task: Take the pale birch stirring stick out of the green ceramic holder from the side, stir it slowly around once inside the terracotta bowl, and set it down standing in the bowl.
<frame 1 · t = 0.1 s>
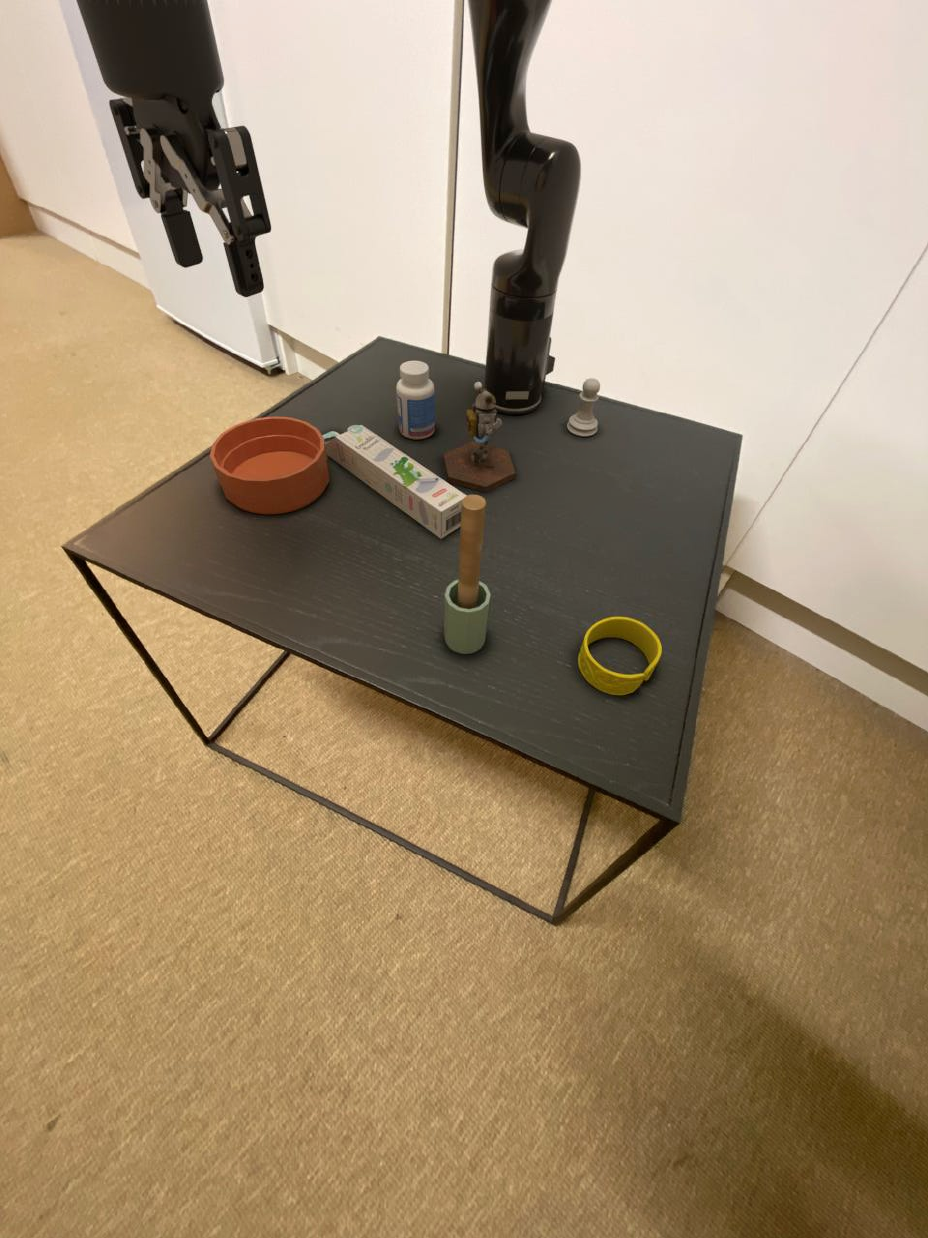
hand: (219, 278, 47), 29 cm above the table, tool pointing down, fingers open, 8 cm apart
chess piece: (581, 429, 88), on the table
robot figurine: (478, 470, 80), on the table
stick: (465, 634, 61), resting on holder
pill bottle: (416, 431, 86), on the table
holder: (465, 637, 61), on the table
box: (382, 481, 78), on the table
bracelet: (614, 665, 60), on the table
bowl: (277, 481, 76), on the table
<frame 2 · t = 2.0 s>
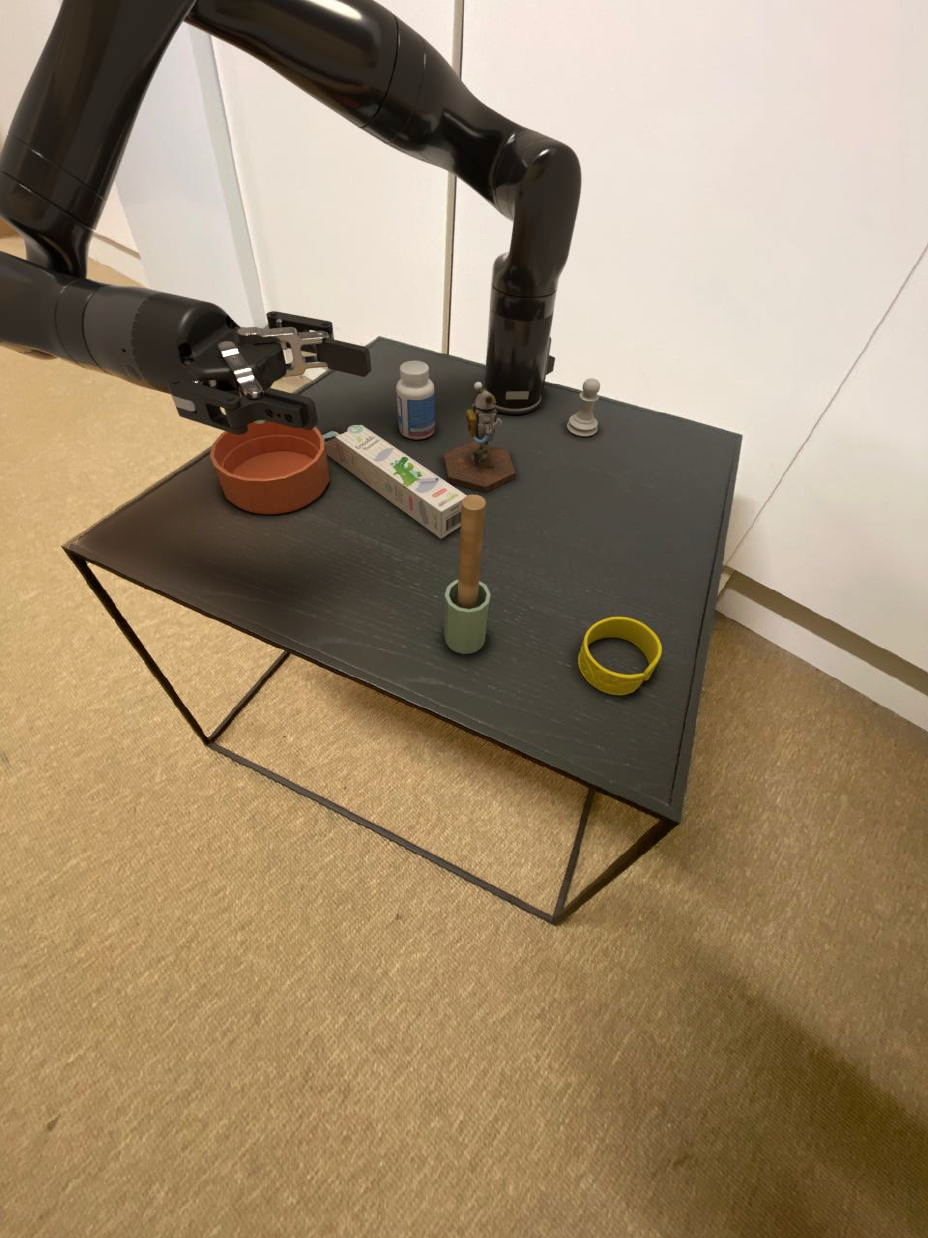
hand: (343, 387, 43), 26 cm above the table, tool horizontal, fingers open, 8 cm apart
nothing on the table moved.
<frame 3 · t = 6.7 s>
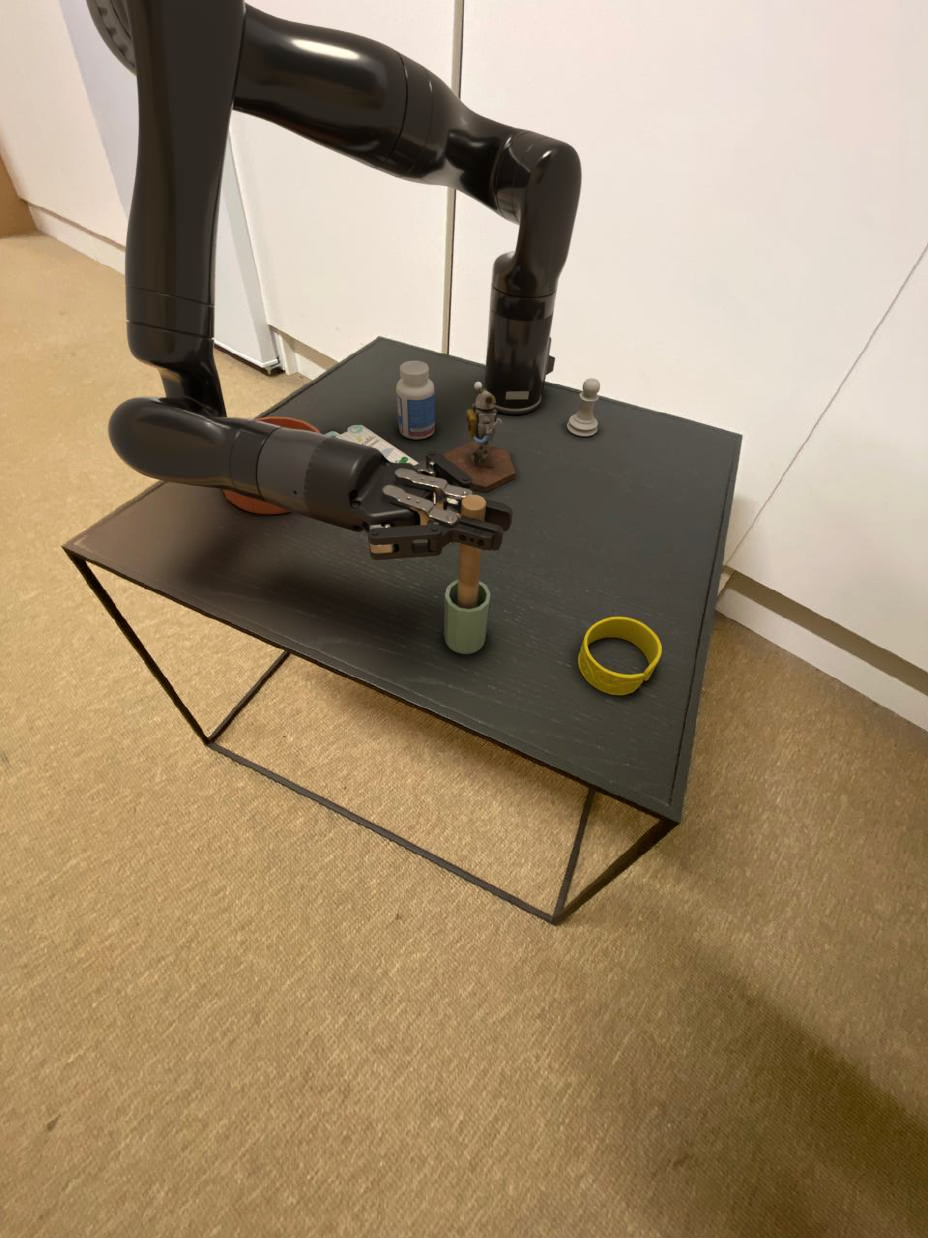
hand: (505, 529, 48), 16 cm above the table, tool horizontal, fingers closed on stick, 2 cm apart
stick: (465, 634, 61), point 1 cm above the table, touching gripper, holder
everything else where it was.
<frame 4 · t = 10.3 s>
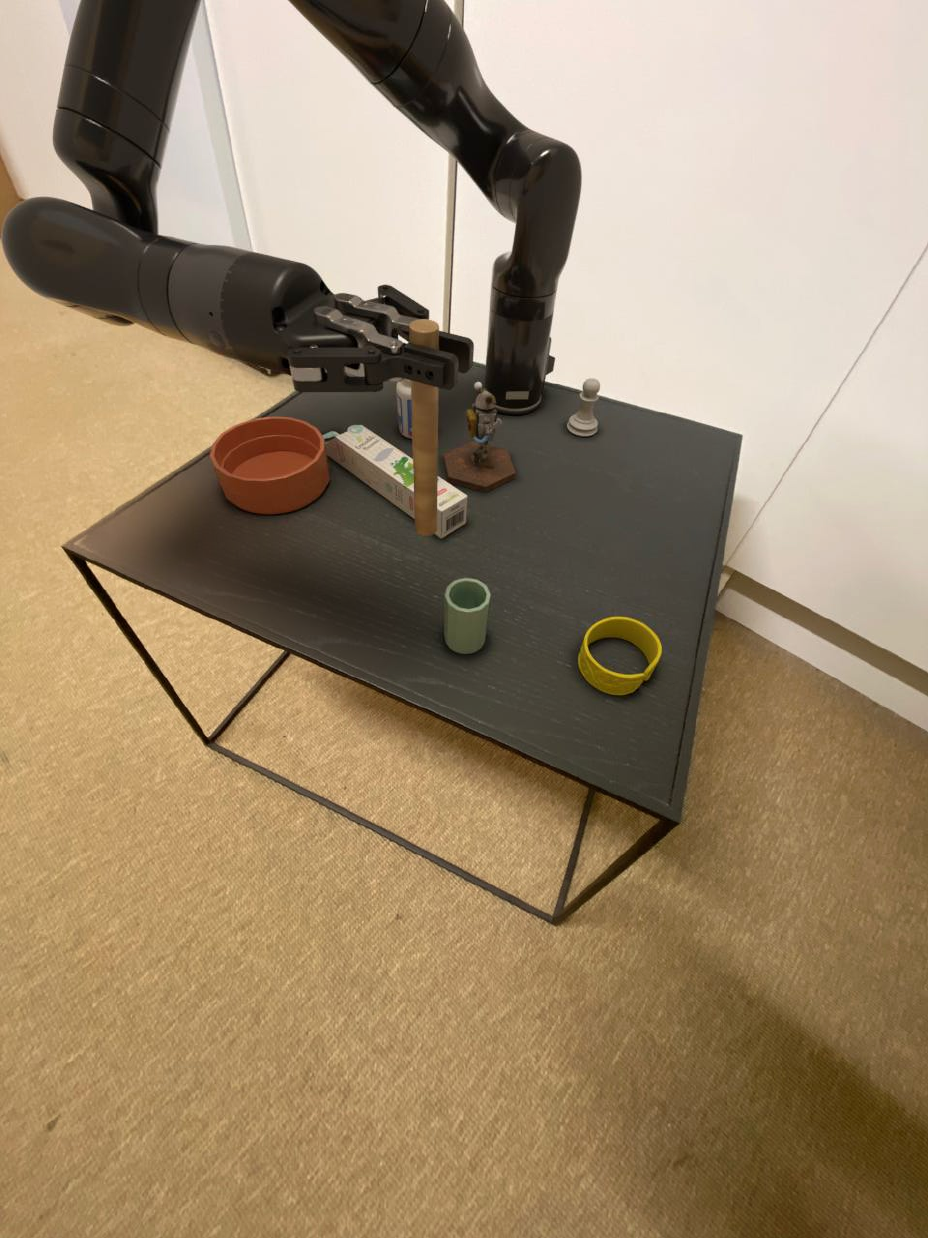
hand: (463, 364, 39), 30 cm above the table, tool horizontal, fingers closed on stick
stick: (426, 529, 52), point 14 cm above the table, touching gripper
everything else where it was.
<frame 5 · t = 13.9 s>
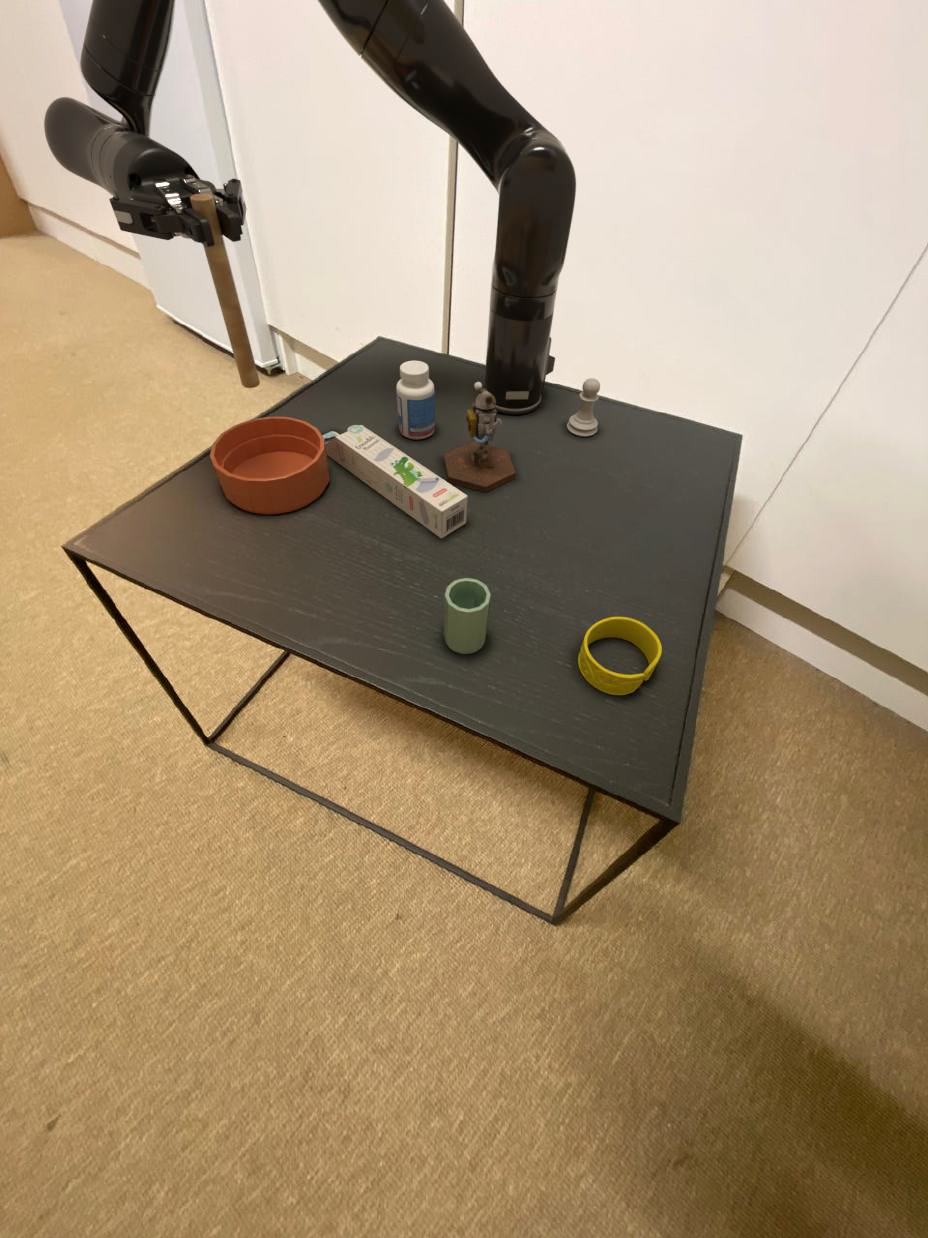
hand: (222, 231, 52), 30 cm above the table, tool horizontal, fingers closed on stick
stick: (251, 383, 66), point 14 cm above the table, touching gripper
everything else where it was.
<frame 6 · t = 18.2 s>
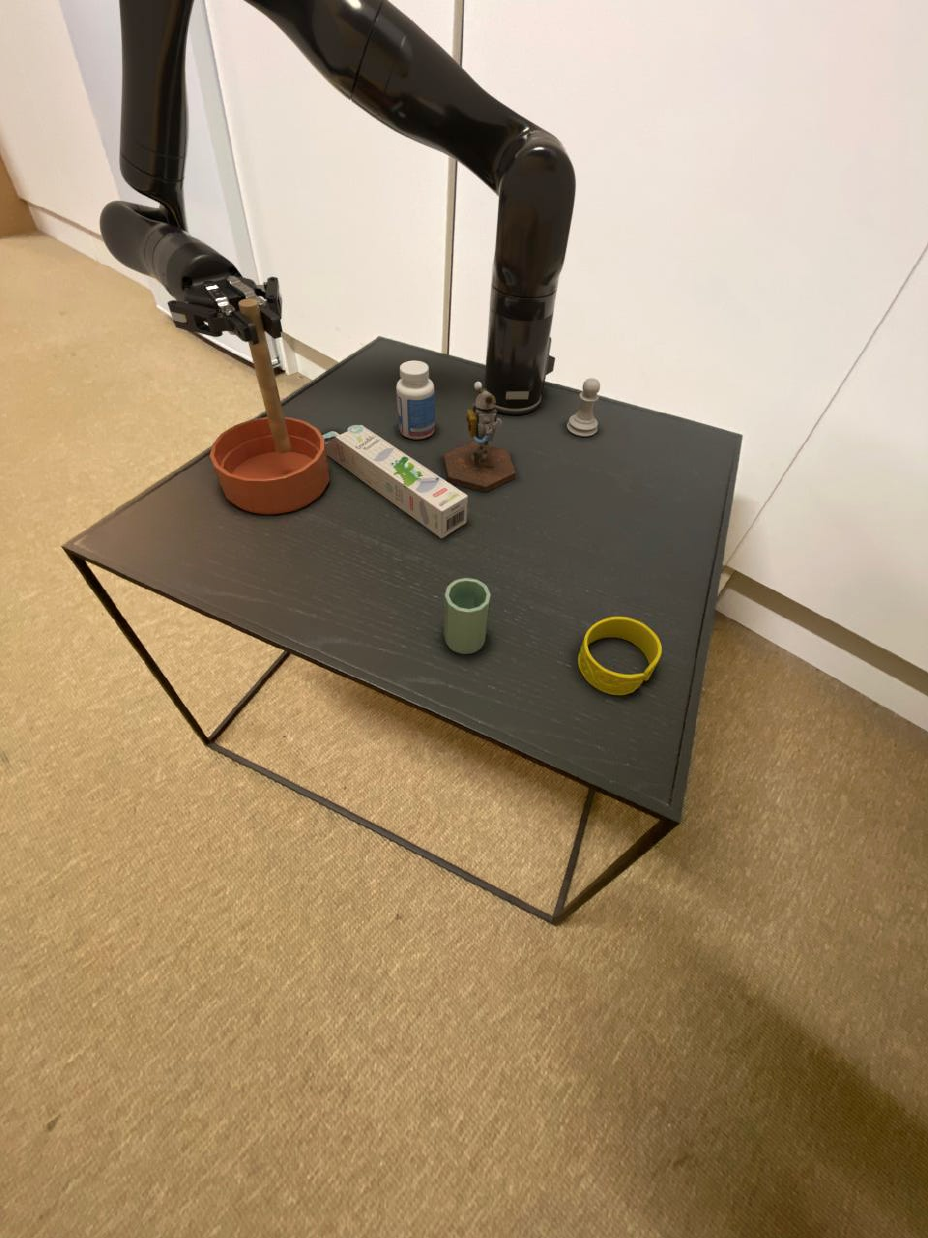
hand: (265, 331, 60), 20 cm above the table, tool horizontal, fingers closed on stick
stick: (283, 449, 74), point 4 cm above the table, touching gripper
everything else where it was.
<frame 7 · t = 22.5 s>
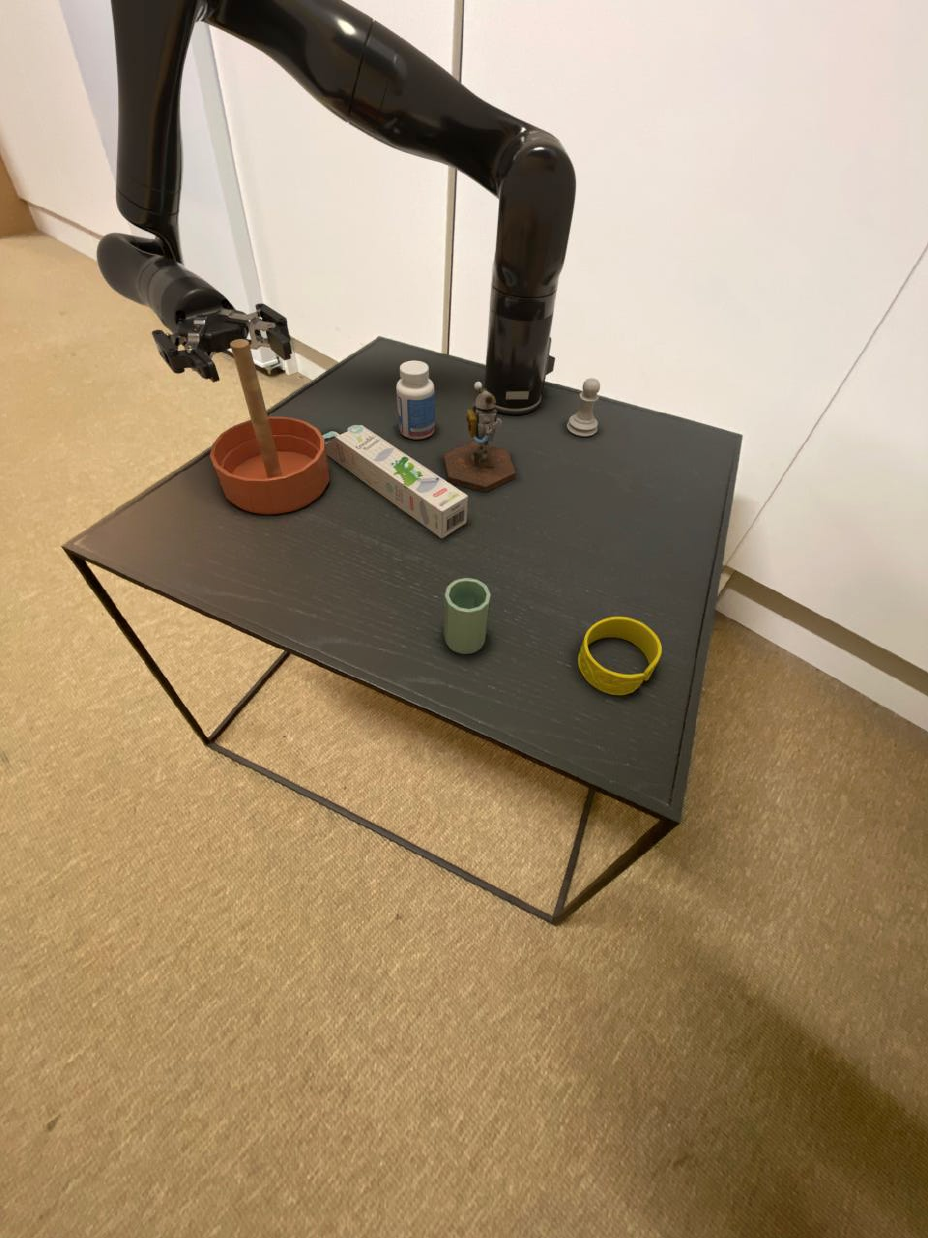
hand: (251, 361, 62), 17 cm above the table, tool horizontal, fingers open, 8 cm apart
stick: (275, 478, 76), point 1 cm above the table, touching bowl
everything else where it was.
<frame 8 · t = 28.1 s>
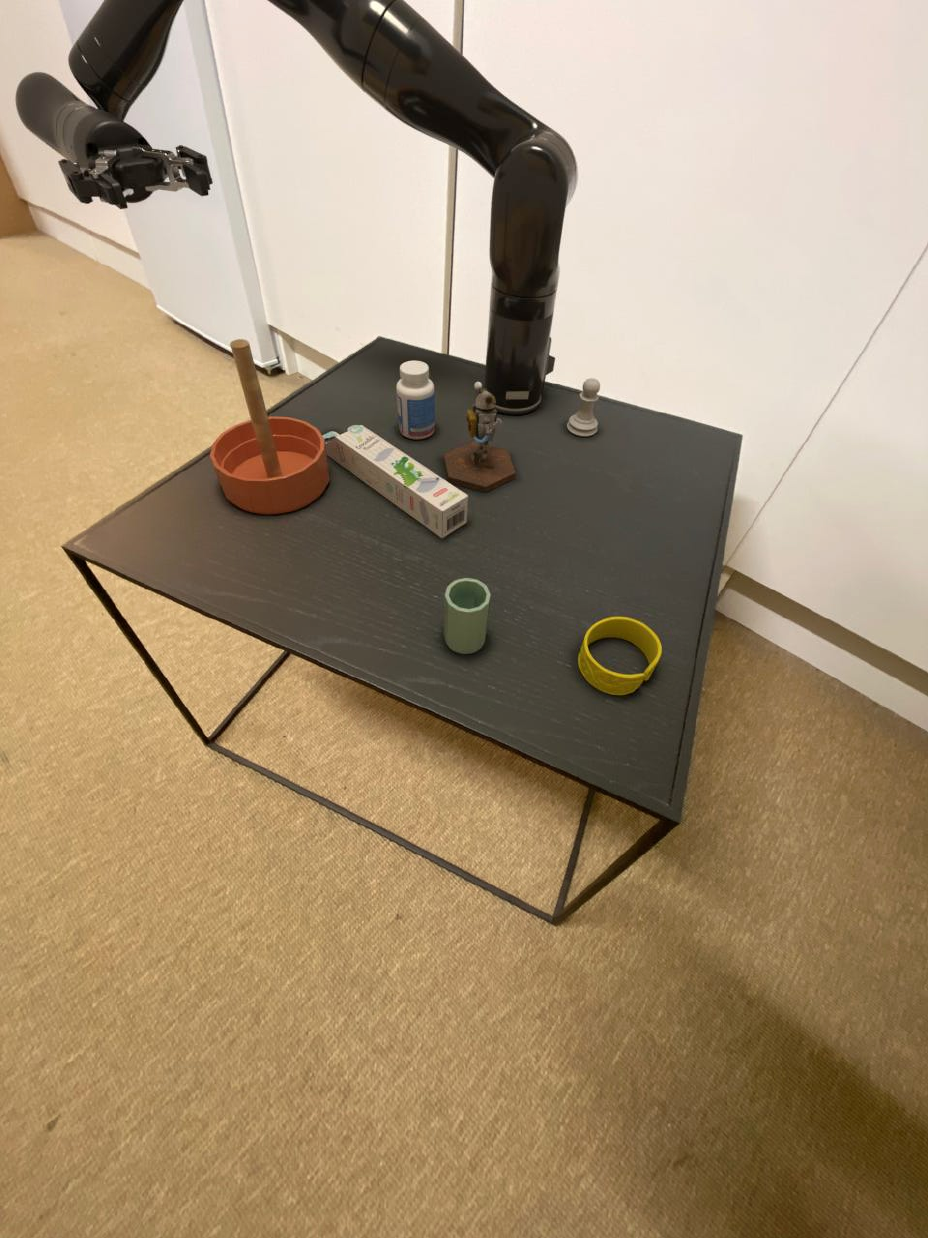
hand: (163, 190, 58), 30 cm above the table, tool horizontal, fingers open, 8 cm apart
nothing on the table moved.
at the end: stick inside the target area in the bowl (0.1 cm from its centre), point 0.6 cm above the bowl's base; stick moved 36.2 cm from its start; the gripper is holding nothing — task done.
